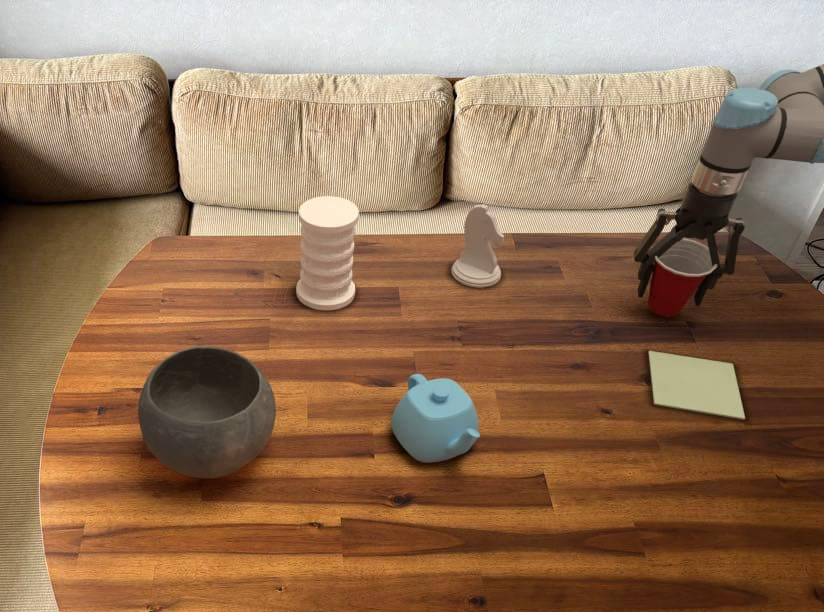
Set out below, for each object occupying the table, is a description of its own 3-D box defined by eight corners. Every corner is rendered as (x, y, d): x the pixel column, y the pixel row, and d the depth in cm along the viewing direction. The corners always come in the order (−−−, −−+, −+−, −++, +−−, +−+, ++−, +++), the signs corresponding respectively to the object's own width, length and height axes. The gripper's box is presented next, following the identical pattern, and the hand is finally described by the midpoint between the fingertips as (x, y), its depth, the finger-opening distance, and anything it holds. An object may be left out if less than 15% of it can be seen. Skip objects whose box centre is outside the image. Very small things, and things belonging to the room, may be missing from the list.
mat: (732, 365, 135) (732, 363, 135) (744, 420, 126) (745, 418, 125) (648, 352, 138) (648, 350, 138) (653, 404, 128) (654, 403, 128)
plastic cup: (635, 321, 142) (656, 266, 134) (631, 287, 150) (651, 234, 141) (698, 330, 140) (723, 275, 132) (690, 295, 148) (714, 241, 139)
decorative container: (346, 315, 146) (352, 232, 134) (288, 304, 149) (288, 222, 136) (361, 281, 154) (367, 200, 142) (305, 271, 157) (307, 191, 144)
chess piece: (486, 293, 151) (501, 226, 140) (442, 276, 155) (453, 210, 145) (508, 270, 156) (524, 204, 146) (465, 254, 161) (477, 189, 150)
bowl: (212, 526, 111) (204, 456, 100) (118, 457, 121) (102, 387, 110) (302, 447, 122) (303, 377, 111) (210, 390, 131) (203, 320, 121)
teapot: (443, 447, 107) (378, 370, 119) (433, 496, 115) (373, 418, 126) (517, 420, 111) (447, 347, 123) (502, 469, 118) (438, 396, 130)
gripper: (645, 189, 127) (606, 300, 143) (790, 206, 123) (734, 318, 138) (643, 168, 132) (605, 277, 148) (782, 184, 128) (728, 294, 143)
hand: (668, 297), depth 143 cm, fingers closed on plastic cup, 9 cm apart
